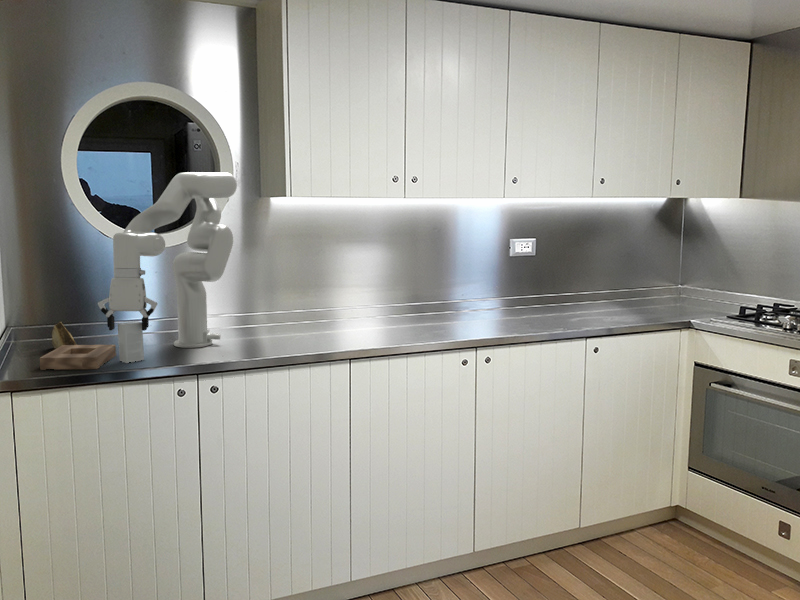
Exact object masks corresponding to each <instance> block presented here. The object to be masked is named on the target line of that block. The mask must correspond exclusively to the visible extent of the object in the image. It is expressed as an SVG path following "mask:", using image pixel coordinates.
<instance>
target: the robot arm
mask: <svg viewBox="0 0 800 600" xmlns="http://www.w3.org/2000/svg"><path fill="white" fill-rule="evenodd" d="M237 188H238V184H237V180H236V178H235V176H234V175H233V174H231V173H229V172H221V171H220V172H218V171H217V172H215V171H214V172H212V171H211V172H209V171H208V172H203V171H201V172H199V171H198V172H197V171H196V172H195V171H190V172H189V171H187V172H178V173H177V174H176V175H175V176H174V177H173V178H172V179H171V180H170V182H169V183H168V184H167V186H166V188H165V190H164V191H163V192H162V194H161V195H160V197H159V198H158V200H156V202H155V203H154V204H152V205H151V206H149V207H148V208H145V209H144V210H143V211H142V212H140V213H138V214H137V215H136V216H134V217H133V218H132V220H131V221H130V222H129V223H128V225H127V226H126V227H125V229H124V230H123V232H116V233H114V234H113V237H112V248H113V249H112V250H113V252H112V253H113V254H112V255H113V256H112V257H113V277H112V278H111V280H110V285H109V295H108V296H109V297H106V298H104V299H103V300H100V301H98V302H97V306H98V307H99V309H100V311H101V312H102V314H103V315H105V317H106V321H107V322H106V323H107V324H106V325H107V328H108V331H113V330H114V329H115V324H116V323H115V316H114V314H115V313H116V312H139V313H140V314H141V315H142V318H141V322H142V330H143V332H145V331H146V330H147V329H148V328H149V325H150V324H149V317H150V316H151V315H152V314H153V313H154V312H155V310H156V308H157V306H158V302H156V301H155V300H152V299H151V298H149V297H147V293H146V286H145V280H144V277H141V276H144V275H146V270H143V269H141V257H150V258H151V257H156V256H159V255H161V254H163V252H164V251H165V248H166V241H165V239H164V237H163V236H162V235H161V234H159V233H157V232H153V231H155V230H156V229H158V228H160V227H163V226H165V225H169V224H172V223H174V222H176V221H178V220H179V219H180V218H181V216H182V215H183V214H184V212H185V210H186V209H187V207H188V206H189V204H190V203H191V201H192V200H193V199H194V201H195V205H196V211H195V213H194V214H195V215H194V218H193V220H192V223H191V226H190V228H189V232H188V234H187V238H186V239H187V241H186V243H187V246H188V248H189V249H191V250H192V251H185V252H181V253H179V254H177V255H176V256H175V258H174V259H173V263H172V271H173V274H174V275H173V276H174V280H175V284H176V297H177V298H176V300H177V301H176V302H177V328H178V330H177V331H178V339H176V340H175V341H174V342H173V345H174V346H175V347H177V348H184V349H191V348H193V349H194V348H195V349H196V348H205V347H208V346H211V345H213V340H214V341H215V340H217V341H218V340H221V334H220V333H216V332H215V333H211V332H210V329H208V306H207V305H208V304H207V290H206V288H205V285H204V283H203V282H207V283H210V282H211V283H213V282H217V281H219V280H220V279H221V278H222V277H223V275H224V273H225V269H226V267H227V263H228V261H229V258H230V255H231V252H232V249H233V246H234V245H233V244H234V235H233V232H232V230H231V228H230V227H229V226H228V225H225V224H222V223H221V224H220V222H221V218H222V211H221V208H220V206H219V203H218V202H217V199H223V198H224V199H225V198H227V199H228V198H230V197H232V196H233V195H234V194H235V193H236V191H237ZM107 303H108V306H109V307H108V308H109V309H108V308H107V307H106V306H105V305H106V304H107ZM147 305H150V307H149V309H146V308H147Z"/></svg>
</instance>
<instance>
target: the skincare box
mask: <svg viewBox="0 0 800 600" xmlns="http://www.w3.org/2000/svg"><path fill="white" fill-rule="evenodd" d="M143 332H144V331H143V330H142V321H137V320H132V321H126V322H125V321H124V322H117V336H118V337H117V338H118V339H117V340H118V354H119V356H118V357H119V362H120V361H122V362H121V363H123V362H125V363H124V364H130V363H129V362H131V363H136V362H141V360H142V361H145V351H144V349H145V348H144V336H143V335H144V333H143ZM135 361H136V362H135Z"/></svg>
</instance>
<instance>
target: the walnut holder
mask: <svg viewBox="0 0 800 600" xmlns="http://www.w3.org/2000/svg"><path fill="white" fill-rule="evenodd" d="M114 356H115V357H117V351H116V344H77V345H62V346H61V347H59V348H57V349H56V348H54V349H53V350H52V351H50V352H48V353H46V354H44V355H42V356H41V357H39V367H40V368H39V369H40V371H41V370H42V371H43V370H44V371H45V370H46V369H54V370H98V369H99V368H101V367H102V366H104V365H105V364H106V363H108V362H109V361H111V360H112V359H113V358H114ZM107 361H108V362H107ZM104 363H105V364H104ZM103 364H104V365H103ZM100 366H101V367H100Z"/></svg>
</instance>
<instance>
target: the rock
mask: <svg viewBox="0 0 800 600" xmlns="http://www.w3.org/2000/svg"><path fill="white" fill-rule="evenodd" d="M51 340H52V341H51V343H52V346H53V348H54V349H57V348H59V347H61V346H62V345H78V344H77V342H76V341H75V340H74V337H73V335H72V334H71V332H69V331H68V329H67V328H66V327H65V326H64V324H63V323H62V321H59V322H58V323H56V324H54V326H53V329H52V333H51Z"/></svg>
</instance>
